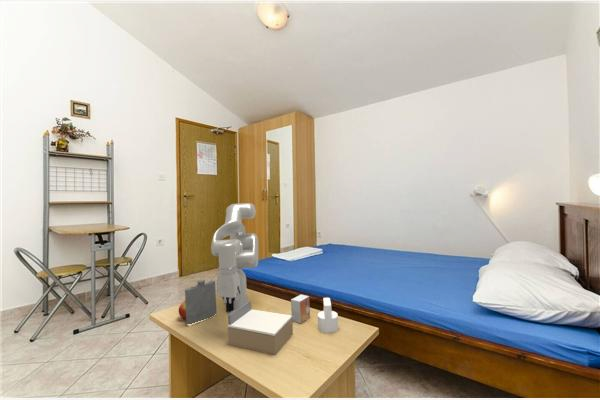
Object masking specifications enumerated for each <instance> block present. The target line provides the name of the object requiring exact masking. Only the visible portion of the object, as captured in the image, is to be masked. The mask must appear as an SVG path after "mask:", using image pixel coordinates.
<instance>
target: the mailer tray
mask: <svg viewBox="0 0 600 400" xmlns="http://www.w3.org/2000/svg"><path fill="white" fill-rule="evenodd" d="M293 335H294V327H293V321H292V318H291V319H290V320H289V321H288V322H287V323H286V324H285V326H284V327H283V328H282V329H281V330H280V331H279V332H278V333H277V334H276V335H275V336H272V335H267V334H262V333H257V332H252V331H246V330H241V329H236V328H231V327H228V326H227V339H228V345H230V346H233V347H238V348H243V349H247V350H252V351H257V352H260V353H265V354H270V355H277V354H278V353H279V351H280V350H281V349H282V348H283V346H284V345H285V344H286V343H287V341H289V339H291V337H292V336H293Z"/></svg>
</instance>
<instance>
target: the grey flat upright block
mask: <svg viewBox="0 0 600 400" xmlns="http://www.w3.org/2000/svg"><path fill="white" fill-rule="evenodd" d="M196 282H197V283H196V284H195V285H192V286H190V287H187V288H184V298H185V299H184V300H185V302H186V319H185V321H186V325H187V324H192V323H195V322H198V321H201V320H204V319H207V318H210V317H212V316H214V315H215V314H217V315H218V312H217V309H218V308H217V287H216V281H215V280H209V281H207V282H206V280H205V279H198V280H196ZM215 316H216V315H215ZM215 316H214V317H215ZM212 318H213V317H212ZM210 319H211V318H210Z"/></svg>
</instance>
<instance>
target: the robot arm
mask: <svg viewBox="0 0 600 400" xmlns="http://www.w3.org/2000/svg"><path fill="white" fill-rule="evenodd" d="M256 209H257V208H256V207H255V205H254V204H253V203H250V202H248V203H247V202H246V203H231V204H230V205H228V206H227V207H226V210H225V220H224V223H223V224H222V225H221V226H220V227H218V229H217V230H216V231H215V232H214V233H213V237H212V239H211V245H210V246H211V248H210V251H211V252H210V253H212V255H213V256H215V257H218V267H217V270H218V271H219V272H218V274H217V280H216V296H218V297H219V298H221V299H222V300H223V301H224V302H223V304H224V305H225V309H226V313H228V314H230V313H231V312H233V311H234V310H236V309H237V308H239V307H240V306H242V305H243V304H245V303H246V302H248V294H247V292H248V291H247V275H246V273H245V272H244V271H243V269H252V268H253V269H254V268H256V267H258V265H259V238H258V235H257V234H256V233H253V232H251V233H249V232H248V233H246V227H245V225H244V224H243V222H242V220H244V219H245V220H247V219H248V220H249V219H255V217H256V213H257V210H256ZM228 236H229V239H224V238H226V237H228Z"/></svg>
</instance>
